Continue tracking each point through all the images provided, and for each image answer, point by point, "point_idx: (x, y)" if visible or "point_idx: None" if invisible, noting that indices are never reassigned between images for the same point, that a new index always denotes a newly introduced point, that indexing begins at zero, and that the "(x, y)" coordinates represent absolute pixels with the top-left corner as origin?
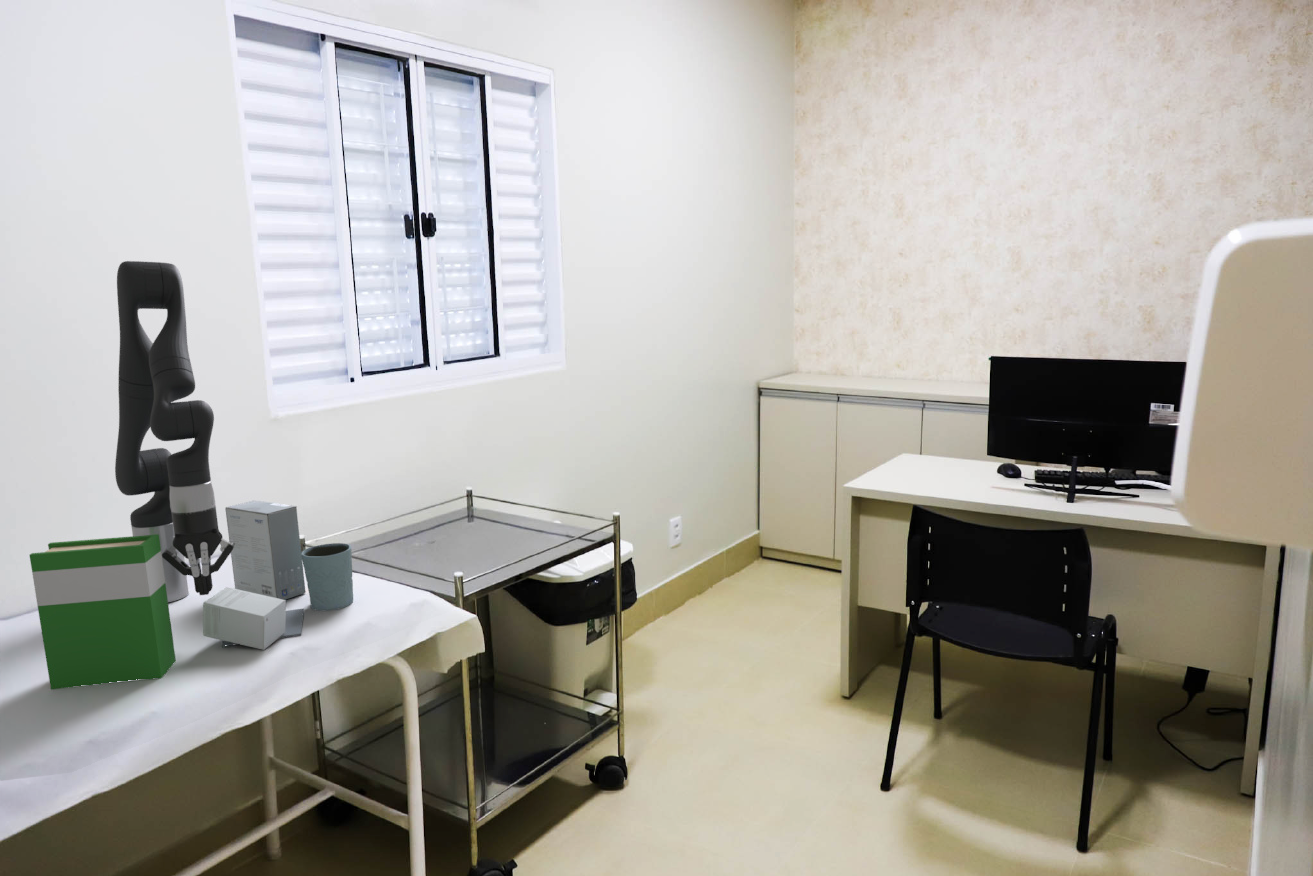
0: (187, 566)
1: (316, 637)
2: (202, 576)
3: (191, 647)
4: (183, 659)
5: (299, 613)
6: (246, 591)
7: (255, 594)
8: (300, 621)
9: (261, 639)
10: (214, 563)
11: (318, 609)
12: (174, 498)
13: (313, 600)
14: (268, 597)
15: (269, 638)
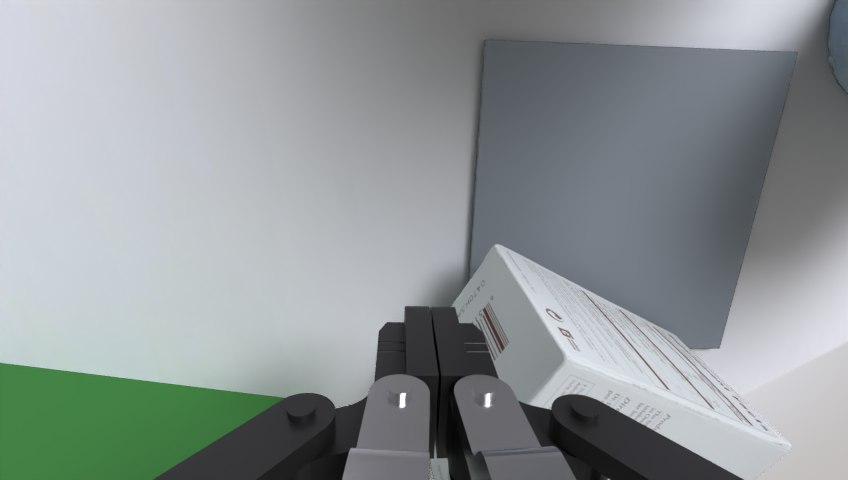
0: (306, 464)
1: (752, 378)
2: (441, 446)
3: (359, 303)
4: (351, 398)
5: (765, 121)
6: (659, 399)
7: (691, 422)
8: (745, 224)
9: None
10: (569, 439)
11: (845, 87)
12: None
13: None
14: (736, 441)
15: None
